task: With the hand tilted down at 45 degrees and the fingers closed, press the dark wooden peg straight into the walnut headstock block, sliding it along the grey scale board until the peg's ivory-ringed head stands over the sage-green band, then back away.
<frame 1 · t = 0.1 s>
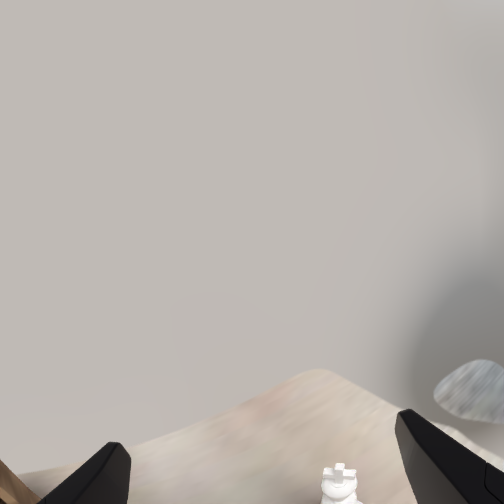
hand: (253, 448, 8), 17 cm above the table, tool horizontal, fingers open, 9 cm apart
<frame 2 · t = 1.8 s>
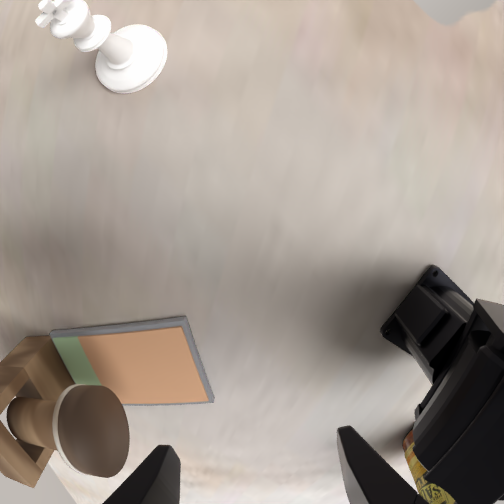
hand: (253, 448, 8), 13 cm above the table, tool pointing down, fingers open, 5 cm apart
sauce bottle: (424, 431, 26), on the table
headstock: (55, 367, 24), on the table
scale board: (128, 366, 23), on the table
chess piece: (132, 59, 16), on the table
peg: (59, 426, 16), point 8 cm above the table, slide at 0.0 cm
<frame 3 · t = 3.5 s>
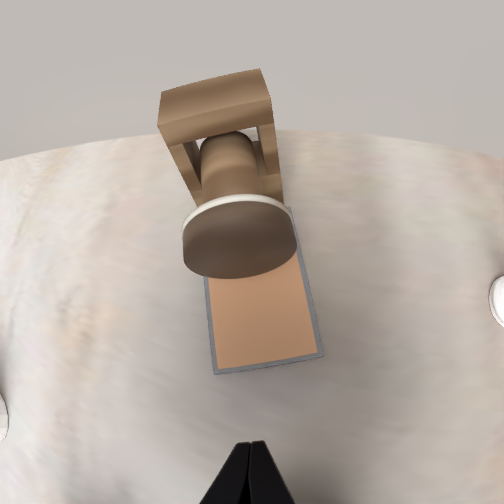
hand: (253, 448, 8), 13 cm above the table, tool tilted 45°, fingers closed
headstock: (242, 199, 29), on the table
scale board: (256, 286, 25), on the table
peg: (232, 196, 20), point 8 cm above the table, slide at 0.0 cm
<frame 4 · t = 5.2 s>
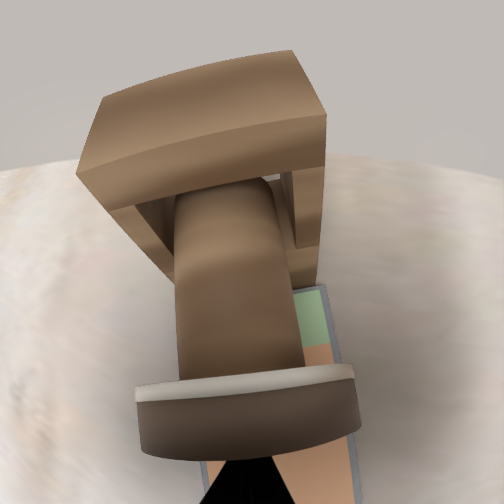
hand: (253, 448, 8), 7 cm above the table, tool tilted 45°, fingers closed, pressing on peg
headstock: (250, 266, 19), on the table
scale board: (271, 411, 15), on the table
peg: (235, 309, 10), point 7 cm above the table, slide at 0.2 cm, touching gripper
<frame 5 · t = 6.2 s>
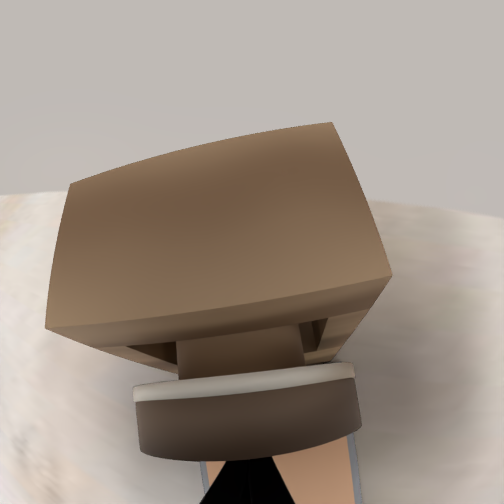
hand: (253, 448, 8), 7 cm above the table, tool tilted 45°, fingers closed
headstock: (260, 337, 17), on the table
scale board: (281, 486, 13), on the table
peg: (234, 308, 10), point 8 cm above the table, slide at 4.7 cm
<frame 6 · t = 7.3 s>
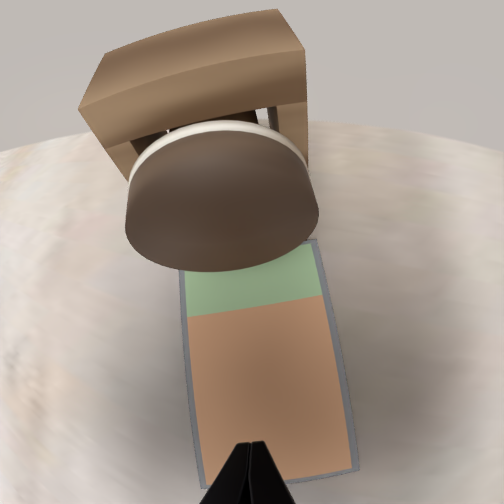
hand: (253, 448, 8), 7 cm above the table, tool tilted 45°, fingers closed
headstock: (243, 223, 19), on the table
scale board: (263, 367, 15), on the table
peg: (214, 143, 12), point 8 cm above the table, slide at 4.7 cm
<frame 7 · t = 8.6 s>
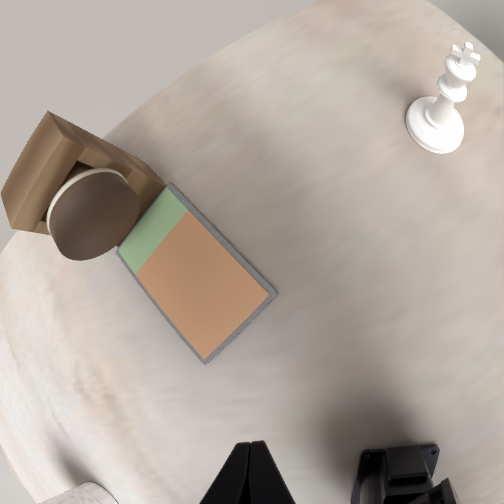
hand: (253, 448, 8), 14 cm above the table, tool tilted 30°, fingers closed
headstock: (132, 204, 27), on the table
scale board: (187, 270, 25), on the table
white cup: (104, 501, 26), on the table
chess piece: (434, 126, 20), on the table
peg: (75, 187, 20), point 7 cm above the table, slide at 4.7 cm
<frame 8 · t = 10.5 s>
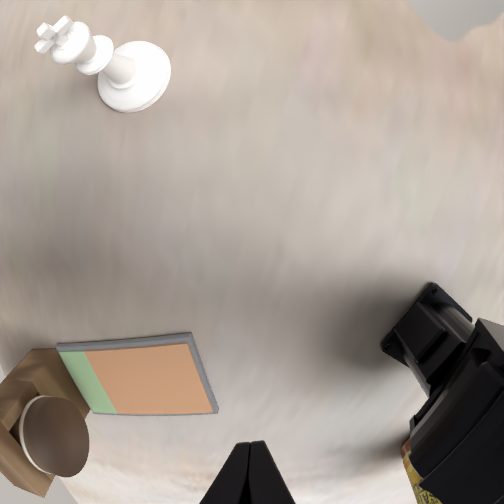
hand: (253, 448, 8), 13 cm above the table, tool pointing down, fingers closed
sauce bottle: (422, 438, 26), on the table
headstock: (61, 378, 24), on the table
scale board: (134, 379, 23), on the table
chess piece: (135, 77, 17), on the table
peg: (29, 430, 17), point 8 cm above the table, slide at 4.7 cm
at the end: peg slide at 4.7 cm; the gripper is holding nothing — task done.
